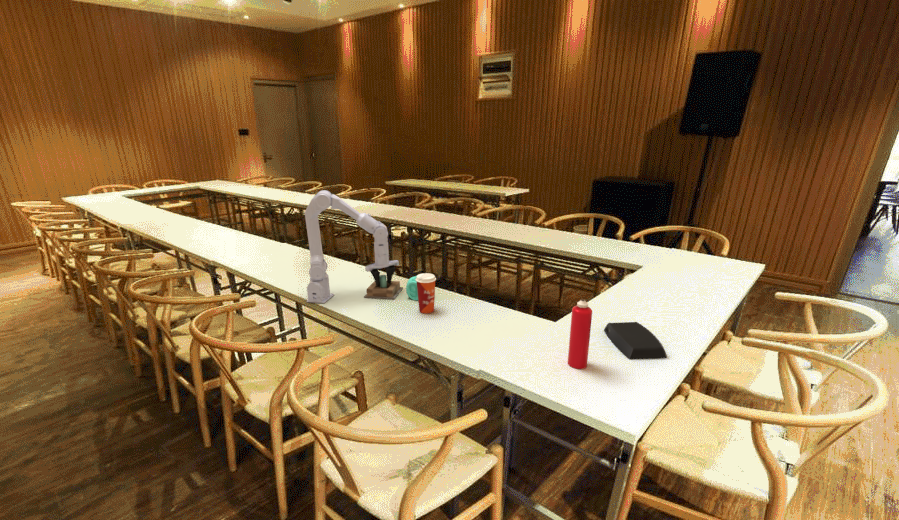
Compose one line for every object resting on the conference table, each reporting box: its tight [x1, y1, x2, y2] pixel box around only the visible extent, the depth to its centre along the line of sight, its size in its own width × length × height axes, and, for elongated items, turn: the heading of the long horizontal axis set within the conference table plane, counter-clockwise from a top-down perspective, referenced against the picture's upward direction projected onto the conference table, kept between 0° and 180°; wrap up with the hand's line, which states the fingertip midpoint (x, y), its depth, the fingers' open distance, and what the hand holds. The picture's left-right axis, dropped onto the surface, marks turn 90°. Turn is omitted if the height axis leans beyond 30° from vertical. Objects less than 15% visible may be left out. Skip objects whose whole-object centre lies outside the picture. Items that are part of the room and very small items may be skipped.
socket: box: [363, 280, 404, 301], centre depth 177 cm, size 13×13×4 cm
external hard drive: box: [603, 321, 668, 360], centre depth 133 cm, size 13×19×4 cm
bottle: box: [567, 299, 593, 370], centre depth 119 cm, size 5×5×20 cm
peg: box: [379, 274, 387, 288], centre depth 177 cm, size 3×3×7 cm
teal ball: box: [405, 275, 418, 302], centre depth 172 cm, size 8×8×8 cm
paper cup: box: [416, 272, 437, 314], centre depth 158 cm, size 8×8×14 cm
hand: (383, 284), depth 176 cm, fingers open, 5 cm apart
